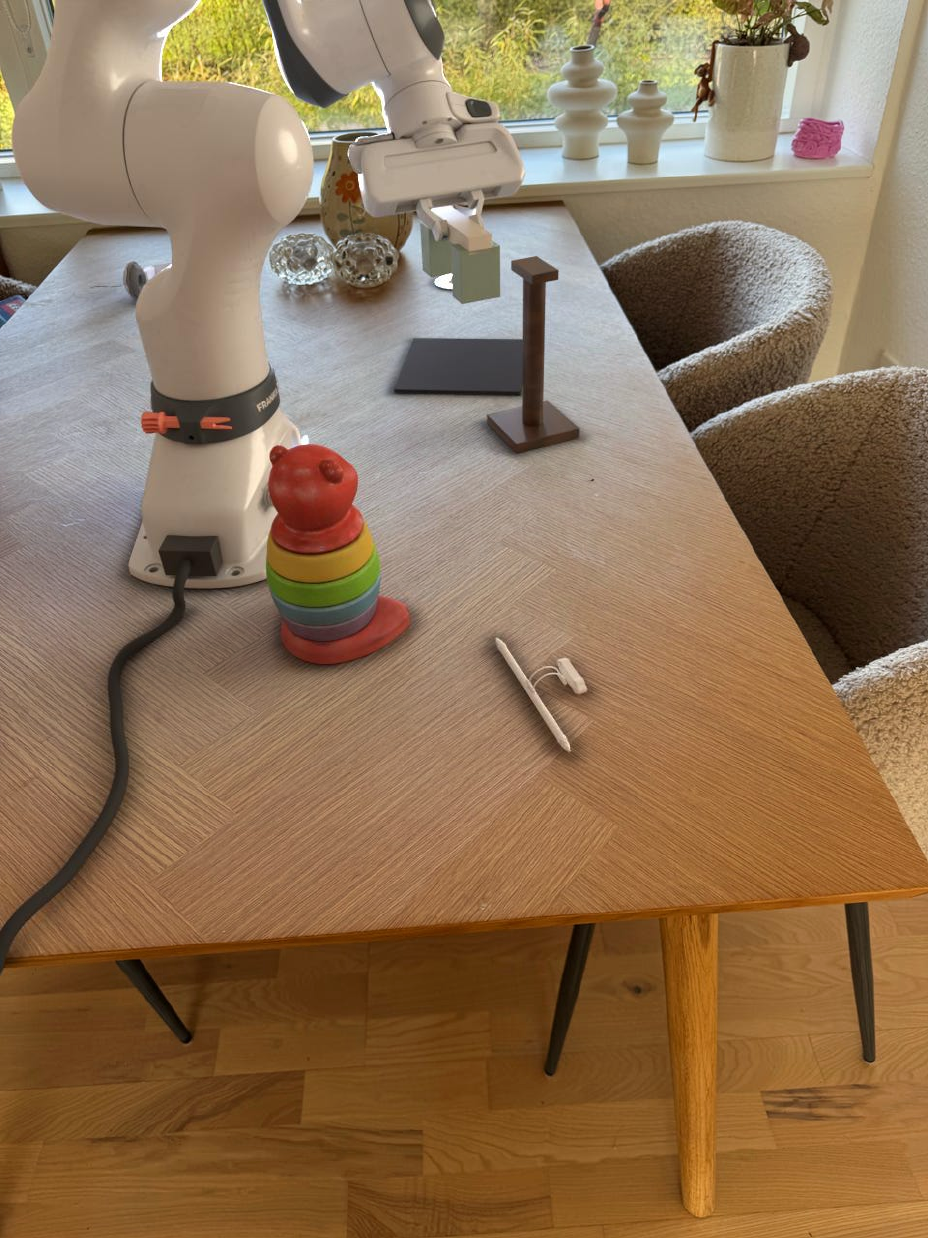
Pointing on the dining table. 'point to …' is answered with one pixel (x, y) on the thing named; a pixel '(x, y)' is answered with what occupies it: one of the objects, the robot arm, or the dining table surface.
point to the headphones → (138, 277)
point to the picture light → (567, 676)
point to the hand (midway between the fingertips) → (460, 235)
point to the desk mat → (462, 367)
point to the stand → (533, 371)
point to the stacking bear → (325, 560)
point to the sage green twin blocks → (463, 257)
